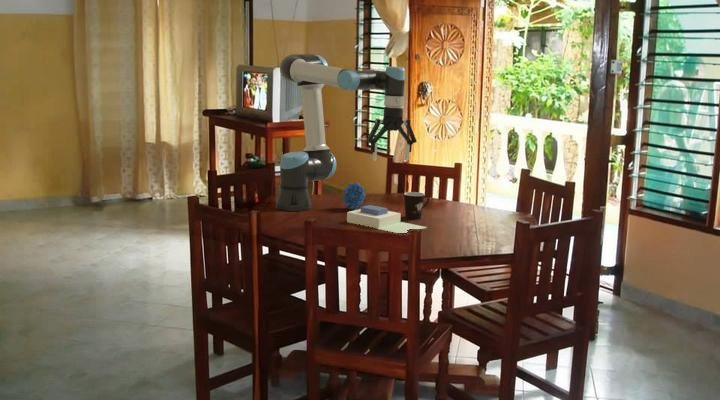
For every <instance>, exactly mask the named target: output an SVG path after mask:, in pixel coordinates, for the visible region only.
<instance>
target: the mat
mask: <svg viewBox="0 0 720 400" xmlns="http://www.w3.org/2000/svg"><path fill="white" fill-rule="evenodd" d="M427 227H428V226H423V225H418V224H413V223H408V222H403V221H400V223H396V224H393V225H389V226H385V227H381V228H378V229H377V230H379V231H383V232H384V231H385V232H387V231H388V233H392V232H393V234H397V233H407V232H408V231H407V230H409V229H421V230H425V229H427ZM407 234H408V233H407Z"/></svg>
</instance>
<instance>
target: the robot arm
mask: <svg viewBox="0 0 720 400" xmlns="http://www.w3.org/2000/svg"><path fill="white" fill-rule="evenodd" d="M279 72H280V74H281V77H282V78H283V79H284V80H286V81H288V82H292V83H297V84H296V85H297V88H298V90H300V92H301V101H302V113H303V125H304V136H305V147H304V149H303V150H302V151H291V152H287V153H286V152H285V153H284V154H282V155H281V157H280V163H279V168H280V169H279V171H280V172H279V180H280V181H279V192H278V195H277V199H276V201H275V208H276V209H277V210H280V211H285V212H286V211H288V212H300V211H301V212H302V211H307V210H311V209H312V201H311V198H310V195H309V190H308V183H309V182H314V181H324V180H326V179H329V178H331V177H332V176H333V175H334V174H335V172H336V170H337V160H336V157H335V155H334V154H333V153H332V152H331V148H330V147H329V146H328V145H327V144H326V129H325V119H324V109H323V108H324V107H323V95H322V89H323V88H324V86H325V85H326V86H330V87H335V88H336V87H337V88H340V89H341V90H343V91H364V90H365V91H367V90H370V91H371V90H375V91H376V90H379V91H384V98H383V99H384V100H383V101H384V102H383V105H384V107H383V117H382V118H383V119H381V118H380V119H379V118H375V120H374V121H375V122H374V125H373V127H372V129H371V131H370V132H369V134H368V136H367V138H366V142H367V143H369V144H370V152H371V153H372V161H374V162H377V159H378V158H377V156H378V144H377V142H378V141H379V140H380V139H381V137H382V136H383V135H384V134H385V133H386V132H388V131H391V132H393V131H395V132H397V131H398V132H399V133H400V134H401V137H403V139H404V140H405V142H406V143H405V146H404V160H405V161H406V162H408V161H409V162H410V153H411V152H412V148H413V147H412V146H413V144H416V143H417V138H416V135H415V133H414V132H413V131H414V130H413V128H412V126H411V120H410V119H408V118H405V119H403V115H404V108H403V107H404V100H405V99H404V97H405V95H404V94H405V93H404V92H405V80H406V70H405V68H404V66H403V67H402V66H386V68H385V70H376V69H365V70H364V69H363V70H360V69H359V70H357V69H356V70H355V69H350V68H349V69H348V68H342V67H336V66H330V65H328V62H327V60H326V59H325V58H324V57H323V56H322V55H318V54H313V53H312V54H310V53H308V54H306V53H305V54H297V53H296V54H295V53H292V54H289V55H287V56H285V57H284V58H282V60H281V62H280V64H279ZM403 124H404V126H405V128H406V131H407V133H408V134H407V133H406V131H405V130H404V128H403V127H402V125H403ZM381 125H383V126H382V127H381V129H380V130H378V129H379V128H380V126H381ZM408 135H409V136H408Z"/></svg>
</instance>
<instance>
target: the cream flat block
mask: <svg viewBox="0 0 720 400" xmlns="http://www.w3.org/2000/svg"><path fill="white" fill-rule="evenodd" d="M360 210H361V208H359V209H355V210H351V211H350V210H349V211H347V212H346V222H347V223H349V224H353V225H354V224H355V225H359V224H360V226H363V225H364V226H363V227H368V226H369V228H372V227H373V228H372V229H377V230H378V228H381V227H385V226H389V225H393V224H396V223H400V222H401V218H402V217H401V215H402V214H401V212H396V211H391V210H388V213H387V214H383V215H379V216H377V215H373V214H368V213H363V212H360Z"/></svg>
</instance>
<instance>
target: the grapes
mask: <svg viewBox="0 0 720 400" xmlns="http://www.w3.org/2000/svg"><path fill="white" fill-rule="evenodd" d="M364 192H365V188H364V186H361V185H360V183H359V182H354V183H352V182H349V183H348V184H347V187H346V188H344V189H343V195H344V196H343V197H342V202H344V203H345V207H346V208H347V209H350V208H351V209H352V211H354V210H357V208H358V207H360V208H361V207H363V203H364V200H365V199H366V193H364Z"/></svg>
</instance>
